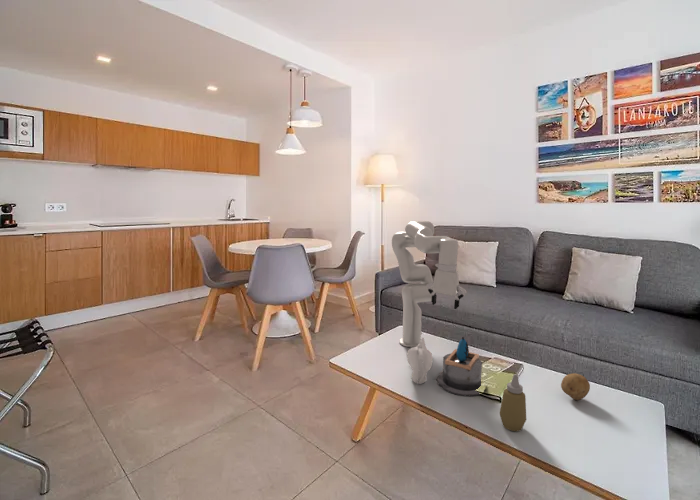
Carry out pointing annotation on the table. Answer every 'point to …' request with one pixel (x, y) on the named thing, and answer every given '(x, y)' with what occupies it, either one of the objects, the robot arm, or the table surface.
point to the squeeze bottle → (513, 406)
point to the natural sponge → (575, 386)
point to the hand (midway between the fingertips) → (444, 306)
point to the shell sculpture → (419, 362)
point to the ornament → (462, 350)
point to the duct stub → (461, 374)
